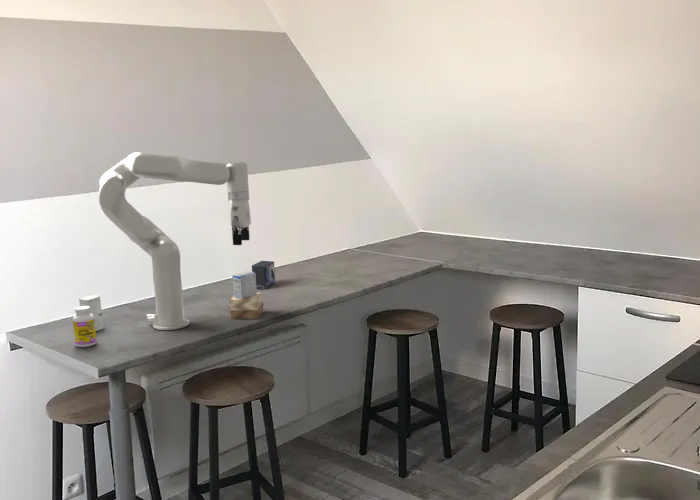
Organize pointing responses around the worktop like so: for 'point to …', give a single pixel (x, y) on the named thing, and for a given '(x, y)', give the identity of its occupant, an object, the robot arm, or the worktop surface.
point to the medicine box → (244, 285)
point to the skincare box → (94, 309)
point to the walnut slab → (247, 313)
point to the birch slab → (246, 302)
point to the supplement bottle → (84, 327)
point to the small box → (264, 274)
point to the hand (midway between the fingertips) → (241, 242)
